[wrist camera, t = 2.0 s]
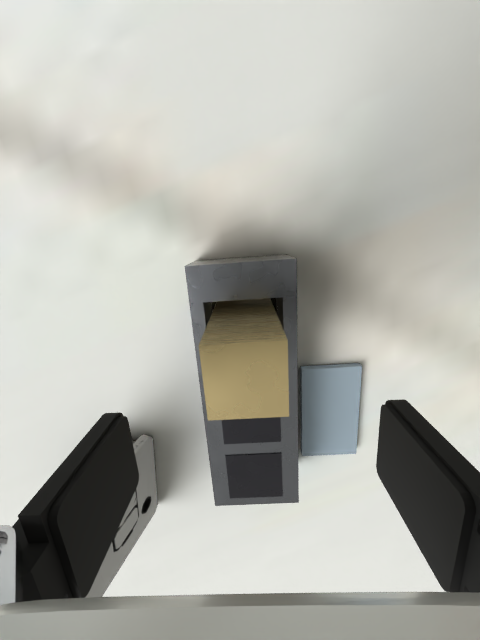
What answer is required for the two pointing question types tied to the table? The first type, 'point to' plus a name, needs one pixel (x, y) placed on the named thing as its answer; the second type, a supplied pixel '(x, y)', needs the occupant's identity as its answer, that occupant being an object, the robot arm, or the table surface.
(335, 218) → the table surface
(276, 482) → the rail
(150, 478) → the electrical switch
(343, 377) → the rubber mat
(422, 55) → the table surface
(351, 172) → the table surface
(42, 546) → the robot arm
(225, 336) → the brass peg
